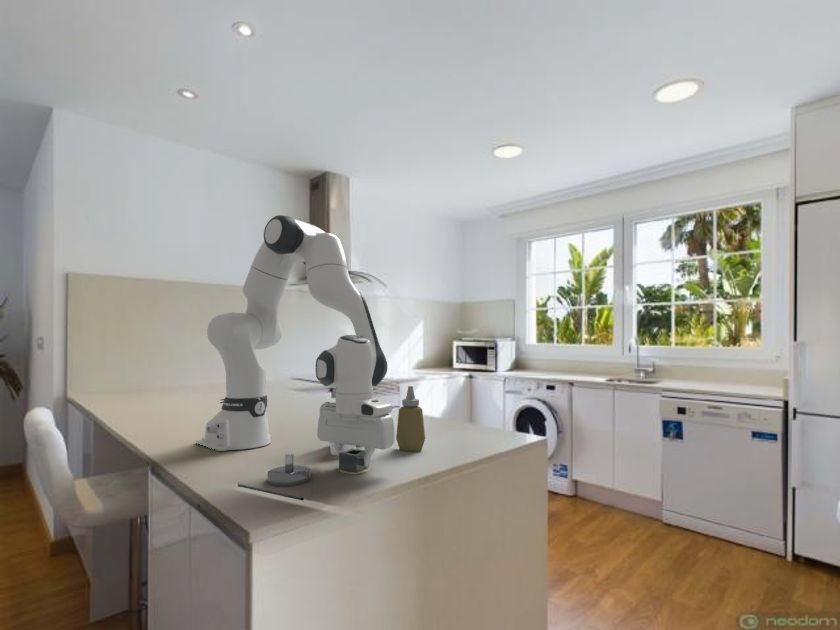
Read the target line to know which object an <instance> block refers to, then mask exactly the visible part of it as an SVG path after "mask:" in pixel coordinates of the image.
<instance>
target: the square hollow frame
mask: <svg viewBox="0 0 840 630" xmlns="http://www.w3.org/2000/svg"><path fill="white" fill-rule="evenodd" d="M365 455H366V452H365V449H357V448H356V449H350V450H347V451H344V452H342V453H339V456H338V470H340V469H341V470H347V471H352V472H358V471H360V470H363V469H365V468H367V467H370V465H369V466H367V467H366V466H361V458H364V457H365Z"/></svg>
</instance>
